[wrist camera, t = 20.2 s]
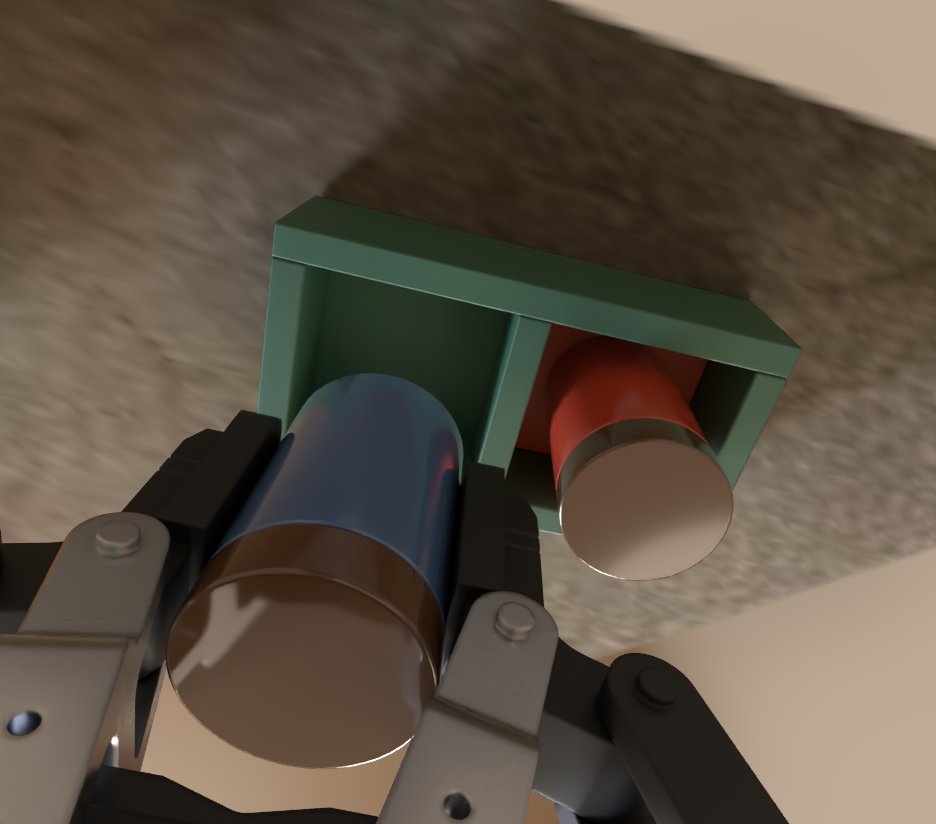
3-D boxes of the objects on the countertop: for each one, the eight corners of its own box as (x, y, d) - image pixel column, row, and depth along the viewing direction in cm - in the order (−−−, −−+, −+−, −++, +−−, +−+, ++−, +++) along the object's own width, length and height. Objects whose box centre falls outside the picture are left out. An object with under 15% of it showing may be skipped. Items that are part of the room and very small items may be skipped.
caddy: (314, 194, 18) (274, 221, 15) (753, 301, 19) (803, 349, 16) (288, 408, 21) (250, 468, 18) (669, 493, 22) (697, 566, 19)
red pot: (564, 320, 19) (589, 421, 13) (690, 350, 19) (763, 462, 14) (530, 432, 20) (539, 562, 15) (645, 458, 20) (695, 596, 15)
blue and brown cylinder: (302, 354, 13) (165, 543, 8) (481, 394, 14) (465, 606, 8) (283, 502, 15) (159, 743, 10) (444, 537, 15) (410, 791, 10)
